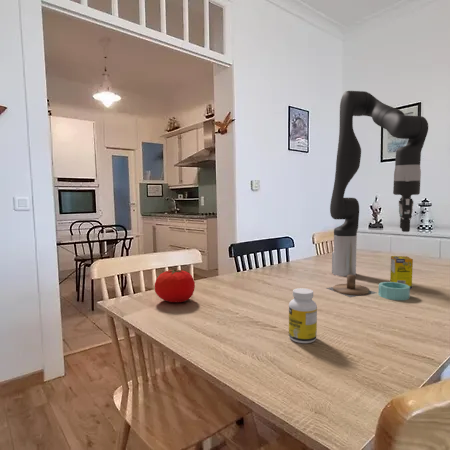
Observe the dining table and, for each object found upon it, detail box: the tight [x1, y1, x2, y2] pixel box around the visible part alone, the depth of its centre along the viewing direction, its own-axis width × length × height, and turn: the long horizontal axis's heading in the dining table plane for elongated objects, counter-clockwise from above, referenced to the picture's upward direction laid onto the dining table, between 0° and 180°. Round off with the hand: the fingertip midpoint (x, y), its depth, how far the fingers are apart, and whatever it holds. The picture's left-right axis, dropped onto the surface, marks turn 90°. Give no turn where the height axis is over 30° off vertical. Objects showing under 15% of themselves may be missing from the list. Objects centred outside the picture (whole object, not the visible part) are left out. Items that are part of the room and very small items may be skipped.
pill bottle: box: [288, 287, 318, 344], centre depth 78 cm, size 6×6×12 cm
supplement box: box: [389, 255, 414, 289], centre depth 123 cm, size 6×6×11 cm
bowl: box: [377, 281, 411, 301], centre depth 110 cm, size 9×9×4 cm
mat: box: [325, 286, 377, 298], centre depth 117 cm, size 12×12×1 cm
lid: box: [332, 275, 370, 296], centre depth 117 cm, size 12×12×5 cm
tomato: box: [154, 268, 196, 303], centre depth 108 cm, size 13×12×11 cm
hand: (404, 230), depth 107 cm, fingers open, 8 cm apart
